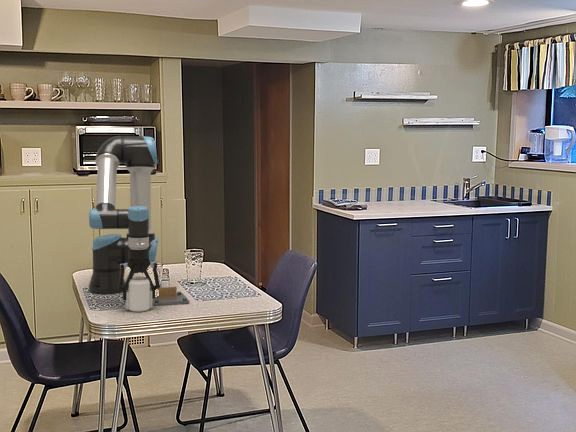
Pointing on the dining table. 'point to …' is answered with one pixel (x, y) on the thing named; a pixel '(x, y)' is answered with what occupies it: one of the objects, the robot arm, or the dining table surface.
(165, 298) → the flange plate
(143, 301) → the beverage can
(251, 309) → the dining table surface
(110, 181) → the robot arm
